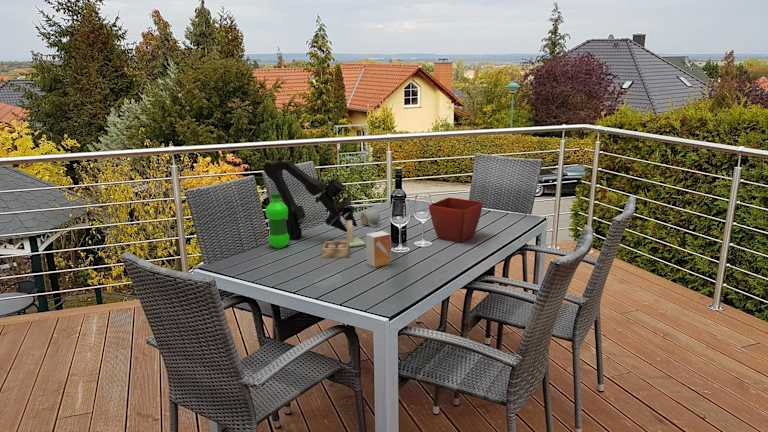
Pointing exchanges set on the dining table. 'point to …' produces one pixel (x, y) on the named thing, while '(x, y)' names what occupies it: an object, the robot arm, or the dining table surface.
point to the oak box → (336, 249)
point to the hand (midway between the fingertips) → (351, 228)
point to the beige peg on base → (351, 236)
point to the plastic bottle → (277, 222)
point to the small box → (378, 248)
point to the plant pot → (455, 218)
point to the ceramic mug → (371, 218)
